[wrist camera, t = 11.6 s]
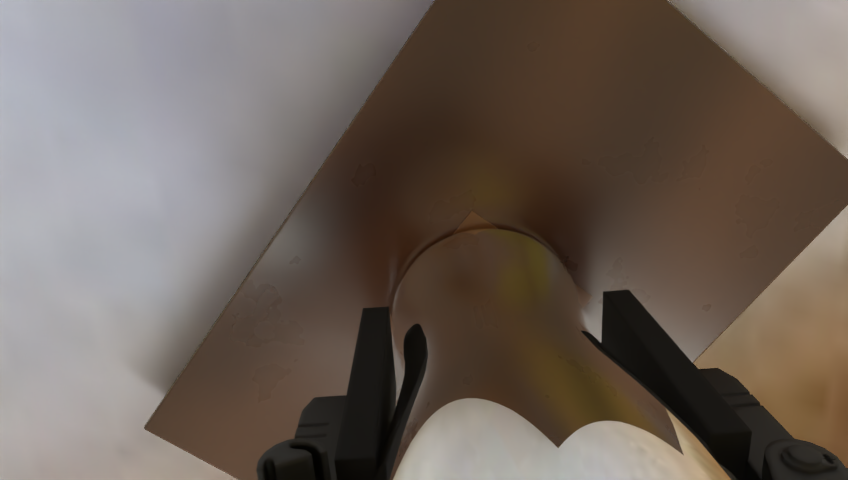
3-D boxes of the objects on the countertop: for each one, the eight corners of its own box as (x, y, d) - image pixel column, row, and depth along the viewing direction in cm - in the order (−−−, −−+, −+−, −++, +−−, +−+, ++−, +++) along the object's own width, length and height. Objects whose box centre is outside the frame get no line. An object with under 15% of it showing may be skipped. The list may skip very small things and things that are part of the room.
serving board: (165, 396, 22) (141, 430, 20) (509, -110, 17) (522, -130, 15) (457, 558, 25) (462, 601, 23) (829, 167, 20) (874, 180, 18)
